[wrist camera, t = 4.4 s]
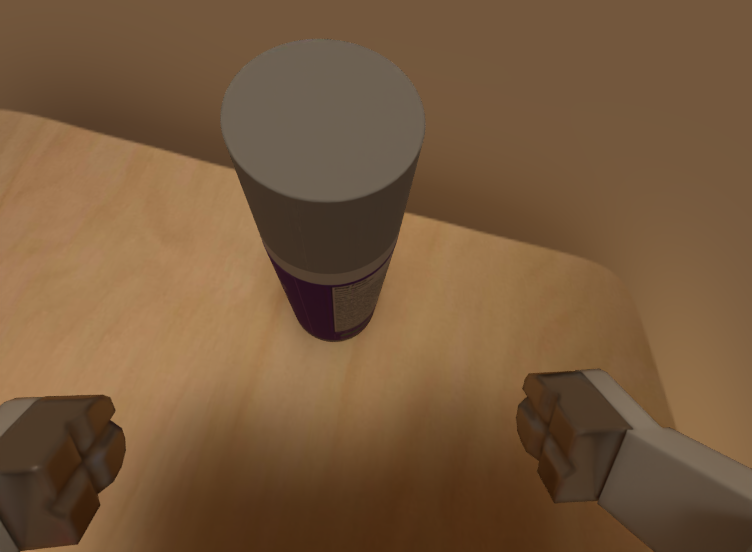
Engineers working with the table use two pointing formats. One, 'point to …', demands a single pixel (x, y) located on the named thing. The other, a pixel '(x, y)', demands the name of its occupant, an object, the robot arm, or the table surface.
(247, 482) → the table surface
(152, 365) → the table surface
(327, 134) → the container
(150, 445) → the table surface
